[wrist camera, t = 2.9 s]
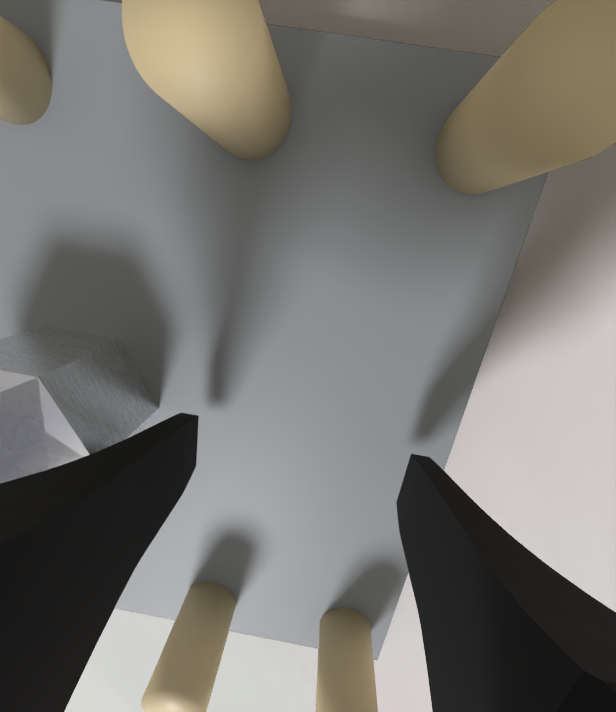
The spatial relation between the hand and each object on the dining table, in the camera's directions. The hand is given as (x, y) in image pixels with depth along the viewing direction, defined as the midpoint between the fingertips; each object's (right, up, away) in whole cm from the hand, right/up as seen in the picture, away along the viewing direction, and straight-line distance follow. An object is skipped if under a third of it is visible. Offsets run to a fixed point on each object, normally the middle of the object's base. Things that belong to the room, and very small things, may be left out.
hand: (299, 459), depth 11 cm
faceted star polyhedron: (-8, +2, +2) cm, 9 cm away
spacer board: (-4, +2, +3) cm, 5 cm away
